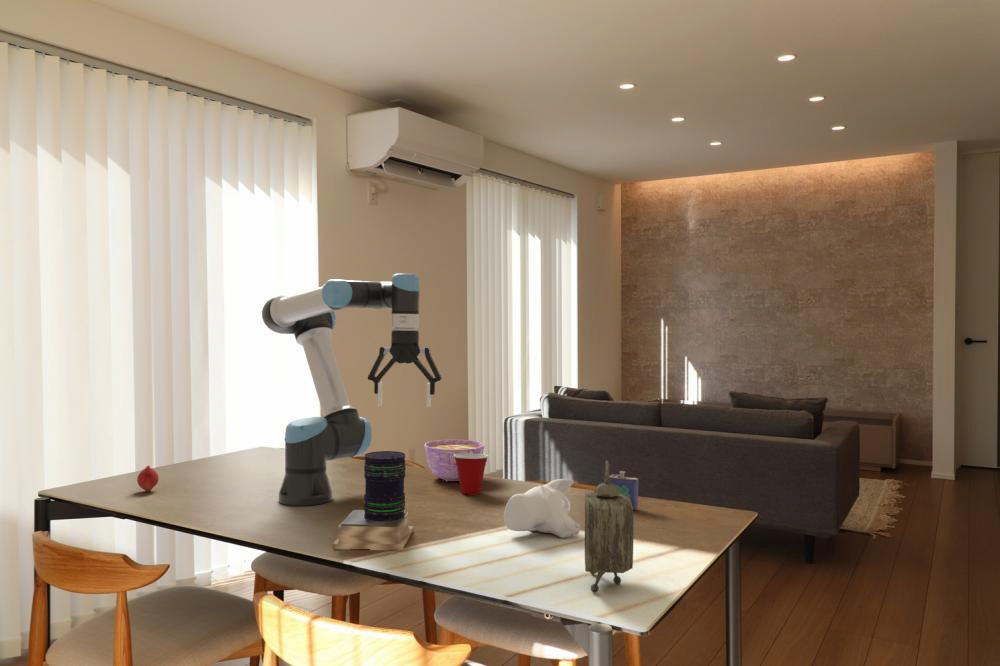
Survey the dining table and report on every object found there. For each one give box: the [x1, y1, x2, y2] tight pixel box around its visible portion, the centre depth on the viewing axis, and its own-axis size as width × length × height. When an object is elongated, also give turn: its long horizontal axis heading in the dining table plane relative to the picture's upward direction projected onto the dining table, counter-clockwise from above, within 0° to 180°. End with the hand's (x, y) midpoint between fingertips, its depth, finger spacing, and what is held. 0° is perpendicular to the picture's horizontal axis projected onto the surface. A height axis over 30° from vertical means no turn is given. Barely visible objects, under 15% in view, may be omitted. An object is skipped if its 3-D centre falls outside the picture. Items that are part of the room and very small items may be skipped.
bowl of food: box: [424, 439, 486, 482], centre depth 249 cm, size 20×20×12 cm
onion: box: [136, 464, 159, 492], centre depth 227 cm, size 6×6×8 cm
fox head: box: [503, 478, 581, 539], centre depth 188 cm, size 13×17×20 cm
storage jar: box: [363, 450, 406, 522], centre depth 181 cm, size 10×10×15 cm
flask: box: [609, 470, 639, 511], centre depth 213 cm, size 9×3×11 cm, turn 68°
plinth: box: [332, 509, 414, 551], centre depth 181 cm, size 16×16×5 cm
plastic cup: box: [454, 453, 489, 496], centre depth 230 cm, size 11×11×12 cm
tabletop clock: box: [584, 459, 635, 594], centre depth 152 cm, size 14×9×25 cm, turn 175°
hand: (404, 406), depth 209 cm, fingers open, 13 cm apart
